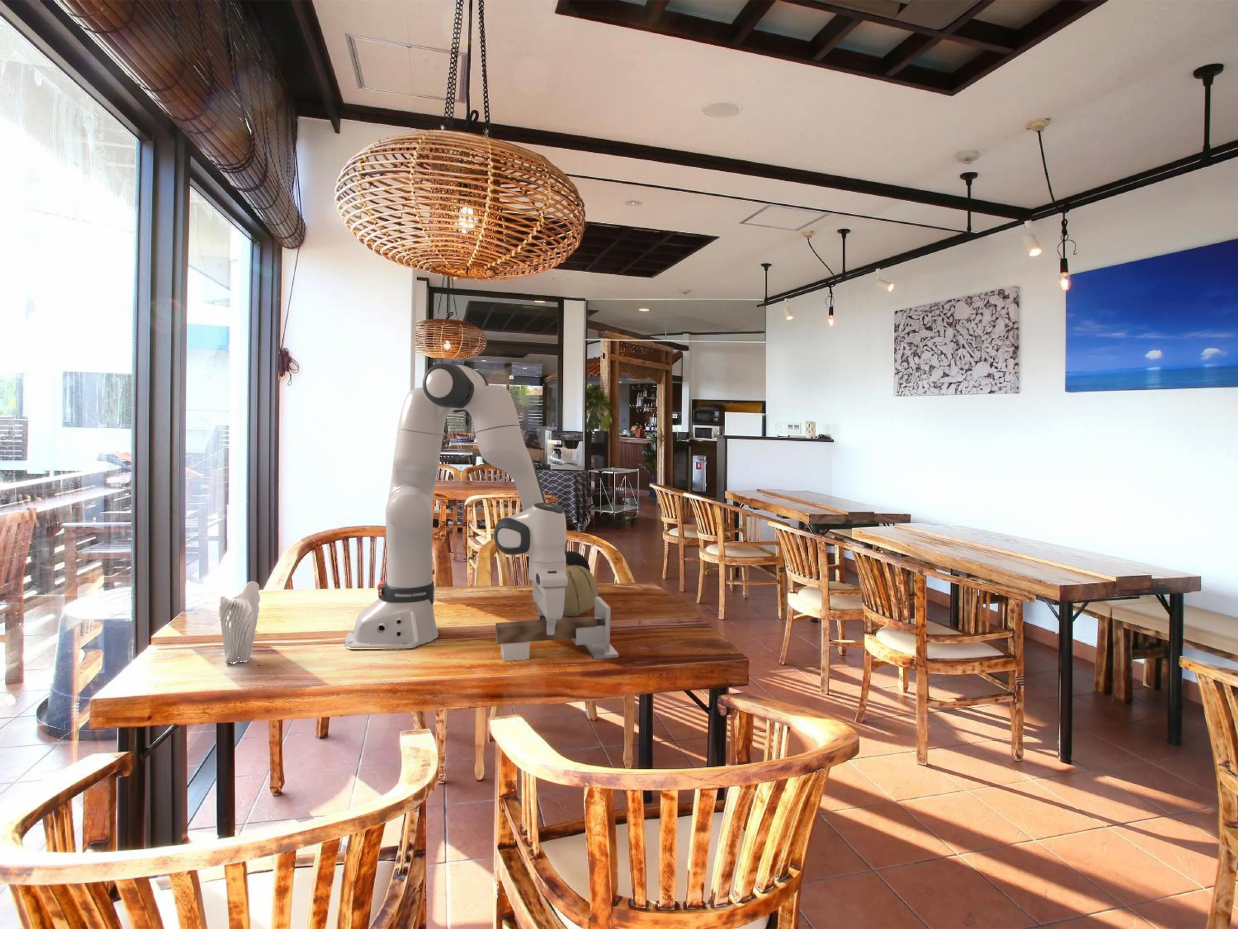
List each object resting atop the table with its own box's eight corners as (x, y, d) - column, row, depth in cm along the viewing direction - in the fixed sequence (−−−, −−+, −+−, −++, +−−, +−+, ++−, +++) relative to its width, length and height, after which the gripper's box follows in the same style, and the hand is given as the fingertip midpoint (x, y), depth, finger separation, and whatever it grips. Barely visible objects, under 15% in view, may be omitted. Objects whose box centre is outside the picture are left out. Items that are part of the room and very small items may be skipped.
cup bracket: (578, 660, 159) (579, 610, 159) (566, 644, 171) (567, 597, 170) (618, 657, 162) (619, 608, 162) (604, 641, 174) (606, 595, 173)
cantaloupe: (596, 623, 188) (597, 570, 187) (543, 622, 189) (544, 569, 188) (599, 608, 203) (600, 559, 202) (550, 607, 203) (551, 558, 202)
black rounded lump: (557, 606, 205) (558, 557, 204) (541, 595, 217) (542, 549, 216) (596, 601, 211) (597, 553, 210) (579, 591, 223) (580, 546, 222)
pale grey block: (503, 661, 158) (503, 644, 158) (500, 654, 163) (501, 638, 162) (529, 659, 160) (529, 643, 159) (525, 652, 164) (526, 636, 164)
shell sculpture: (215, 670, 148) (214, 590, 147) (220, 658, 156) (219, 581, 155) (258, 666, 152) (256, 587, 150) (261, 654, 159) (260, 578, 158)
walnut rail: (497, 644, 158) (497, 627, 158) (495, 639, 161) (495, 622, 161) (596, 636, 165) (596, 620, 165) (592, 632, 168) (593, 616, 168)
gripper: (527, 562, 171) (526, 616, 172) (542, 582, 151) (540, 642, 152) (551, 561, 173) (550, 614, 174) (569, 580, 153) (568, 640, 154)
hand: (546, 628), depth 163 cm, fingers open, 8 cm apart
